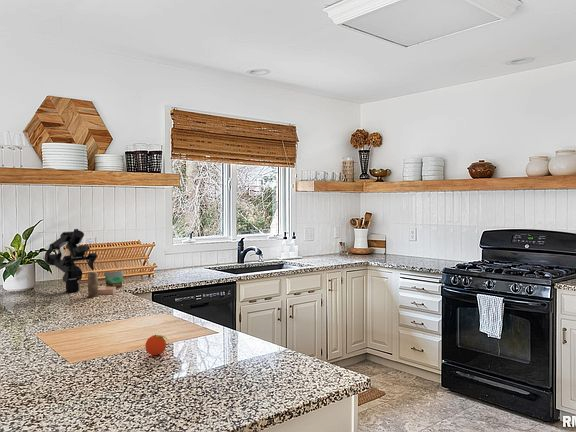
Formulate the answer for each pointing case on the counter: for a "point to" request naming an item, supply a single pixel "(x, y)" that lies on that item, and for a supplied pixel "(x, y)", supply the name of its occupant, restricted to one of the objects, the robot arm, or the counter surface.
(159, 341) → the tomato
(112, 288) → the terracotta base
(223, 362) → the counter surface
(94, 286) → the walnut cylinder
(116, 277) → the food container
